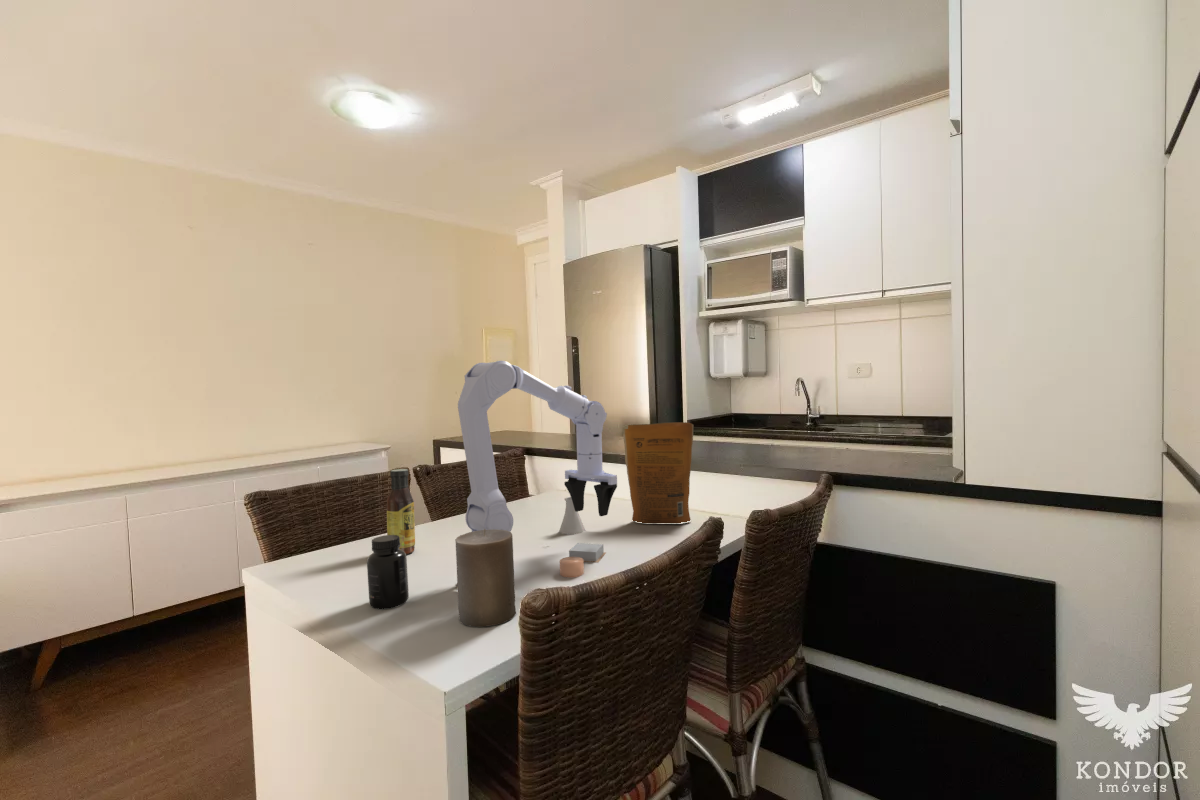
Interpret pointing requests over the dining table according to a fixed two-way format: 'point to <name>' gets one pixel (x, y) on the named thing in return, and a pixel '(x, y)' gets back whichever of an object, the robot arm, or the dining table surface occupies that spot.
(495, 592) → the pillar candle
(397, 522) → the sauce bottle
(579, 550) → the slate top block
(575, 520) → the flask
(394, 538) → the supplement bottle
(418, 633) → the dining table surface
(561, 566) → the terracotta cylinder
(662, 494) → the pancake mix bag
